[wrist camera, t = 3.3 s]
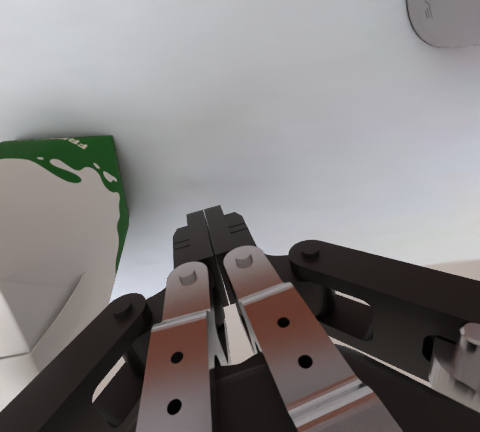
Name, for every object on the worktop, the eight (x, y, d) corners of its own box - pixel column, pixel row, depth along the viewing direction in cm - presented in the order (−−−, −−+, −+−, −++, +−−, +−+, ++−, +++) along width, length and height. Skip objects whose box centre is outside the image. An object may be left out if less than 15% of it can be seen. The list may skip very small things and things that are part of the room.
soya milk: (34, 236, 25) (-282, 637, 7) (-9, 126, 21) (-950, 453, 3) (142, 224, 26) (88, 534, 9) (122, 120, 22) (-48, 322, 5)
